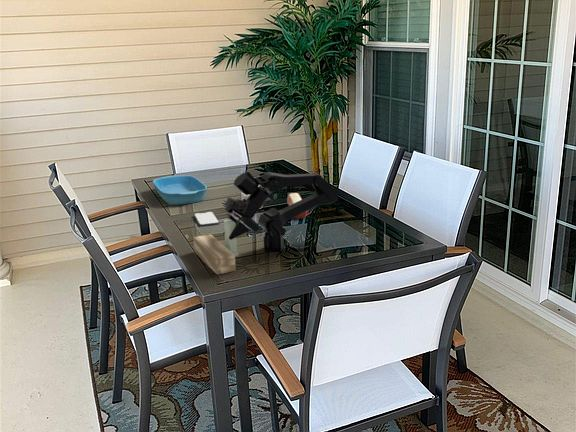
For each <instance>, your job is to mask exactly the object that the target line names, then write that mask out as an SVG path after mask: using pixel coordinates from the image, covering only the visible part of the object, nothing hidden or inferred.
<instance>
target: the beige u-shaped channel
mask: <svg viewBox="0 0 576 432" xmlns="http://www.w3.org/2000/svg"><path fill="white" fill-rule="evenodd" d="M192 239H193V251H194V254H196V255H197V256H198V257H199V258H200V259H201V260H202V261H203V262H204V263H205V264H206V266H208V267H209V268H210V269H211V270H212V271H213V272H214V273H215V274H216V275H221V274H226V273H230V272H231V273H232V272H236V267H237V266H236V256H235V254H233V253H232V252H231V251H230V250H229V249H228V248H226V247H225V244H223V243H222V242H221V241H220V240H218V239H217V238H216V237H214V236H213V234H211V233H209V234H203V235H198V236H193V237H192Z"/></svg>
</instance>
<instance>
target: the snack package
mask: <svg viewBox="0 0 576 432" xmlns="http://www.w3.org/2000/svg"><path fill="white" fill-rule="evenodd" d="M286 199H287V200H286V201H287V203H286V204H287V206H290V205H292V204H294V203H296V202H298V201H300V200H302V199H303V198H302V197H301V195H300V194H299V193H297V192H294V193H293V192H291V193H289V194H288V195H287V198H286ZM307 215H308V211H306V212H304V213H302V214H300V215H298V216H296V217H294V218H293V219H297V220H298V219H300V218H301V219H305V218H306V217H307Z"/></svg>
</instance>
